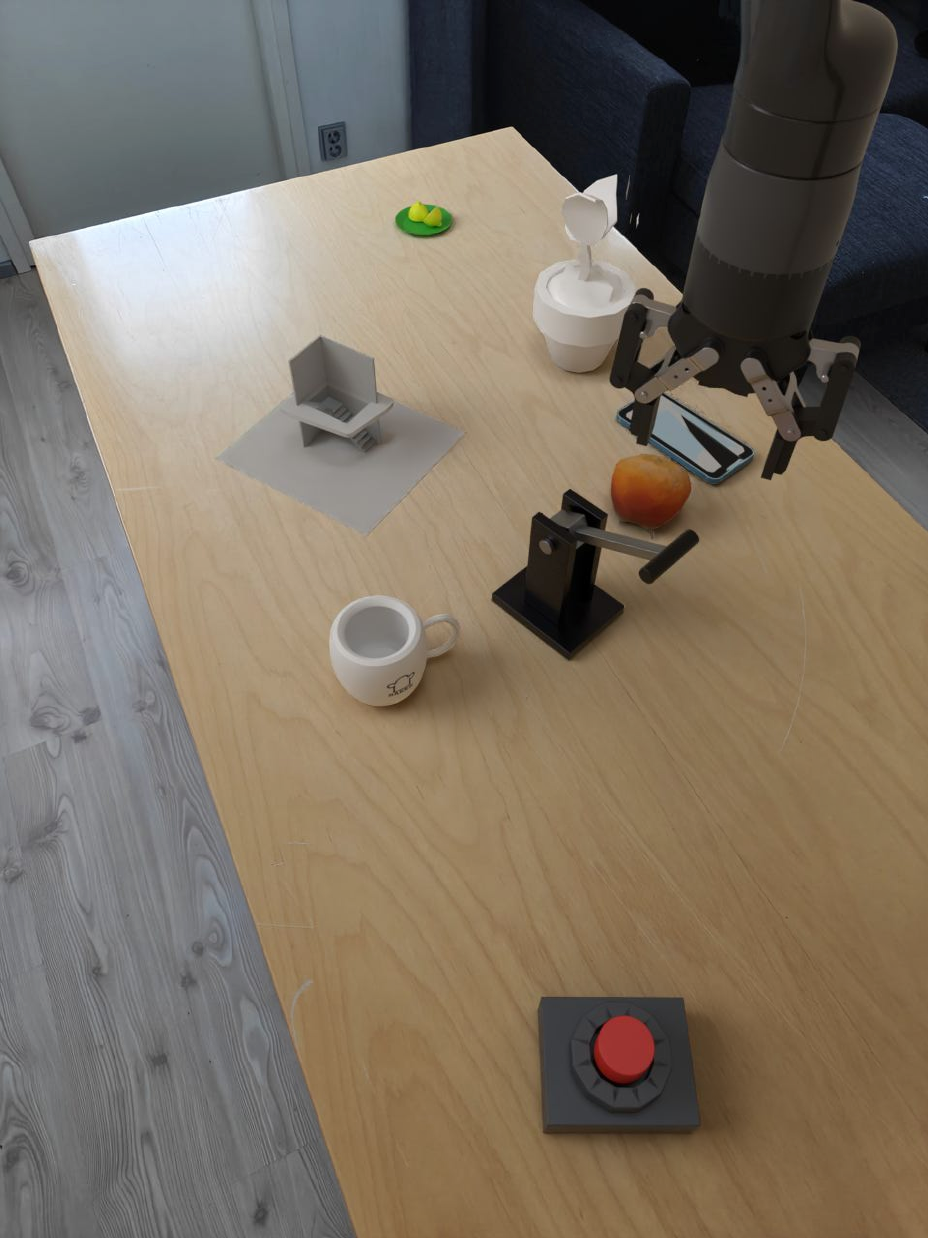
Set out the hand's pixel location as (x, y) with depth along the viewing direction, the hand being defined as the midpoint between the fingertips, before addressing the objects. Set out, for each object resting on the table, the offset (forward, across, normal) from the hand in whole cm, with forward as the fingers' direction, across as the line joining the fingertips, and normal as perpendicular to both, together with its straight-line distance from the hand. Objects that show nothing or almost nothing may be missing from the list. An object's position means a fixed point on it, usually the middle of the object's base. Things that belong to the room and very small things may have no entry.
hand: (705, 454), depth 63 cm
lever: (+15, -5, +3) cm, 16 cm away
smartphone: (+27, -5, +33) cm, 43 cm away
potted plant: (+27, -20, +43) cm, 55 cm away
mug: (+28, -21, -8) cm, 35 cm away
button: (+23, +7, -33) cm, 40 cm away
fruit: (+28, -6, +20) cm, 35 cm away
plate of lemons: (+27, -50, +63) cm, 84 cm away
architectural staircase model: (+27, -40, +17) cm, 51 cm away
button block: (+28, +7, -32) cm, 43 cm away
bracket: (+27, -10, +5) cm, 29 cm away
